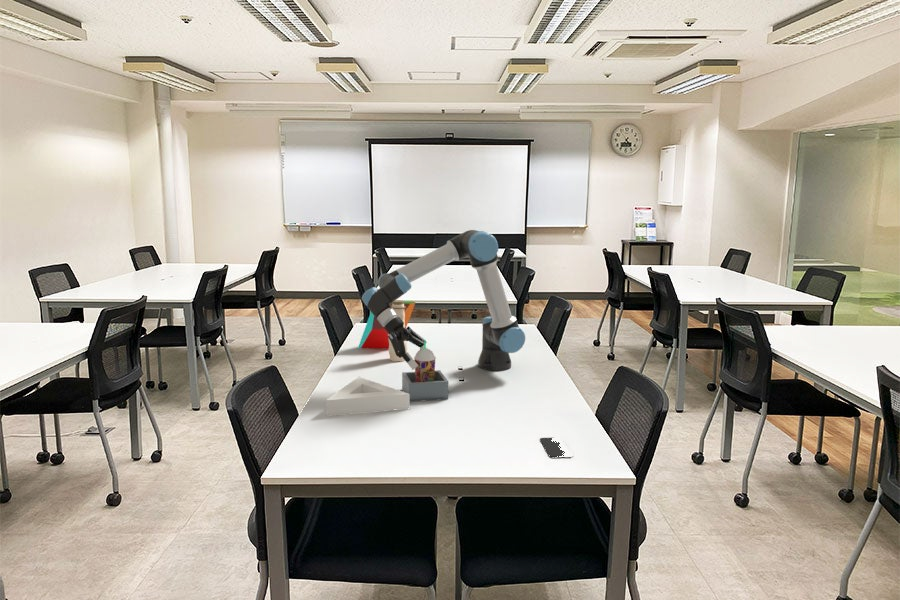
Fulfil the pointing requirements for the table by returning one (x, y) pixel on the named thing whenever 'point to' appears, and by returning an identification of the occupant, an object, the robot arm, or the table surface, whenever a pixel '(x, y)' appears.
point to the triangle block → (366, 398)
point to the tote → (425, 387)
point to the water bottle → (399, 309)
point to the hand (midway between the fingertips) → (424, 363)
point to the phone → (552, 447)
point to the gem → (381, 329)
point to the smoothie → (424, 365)
